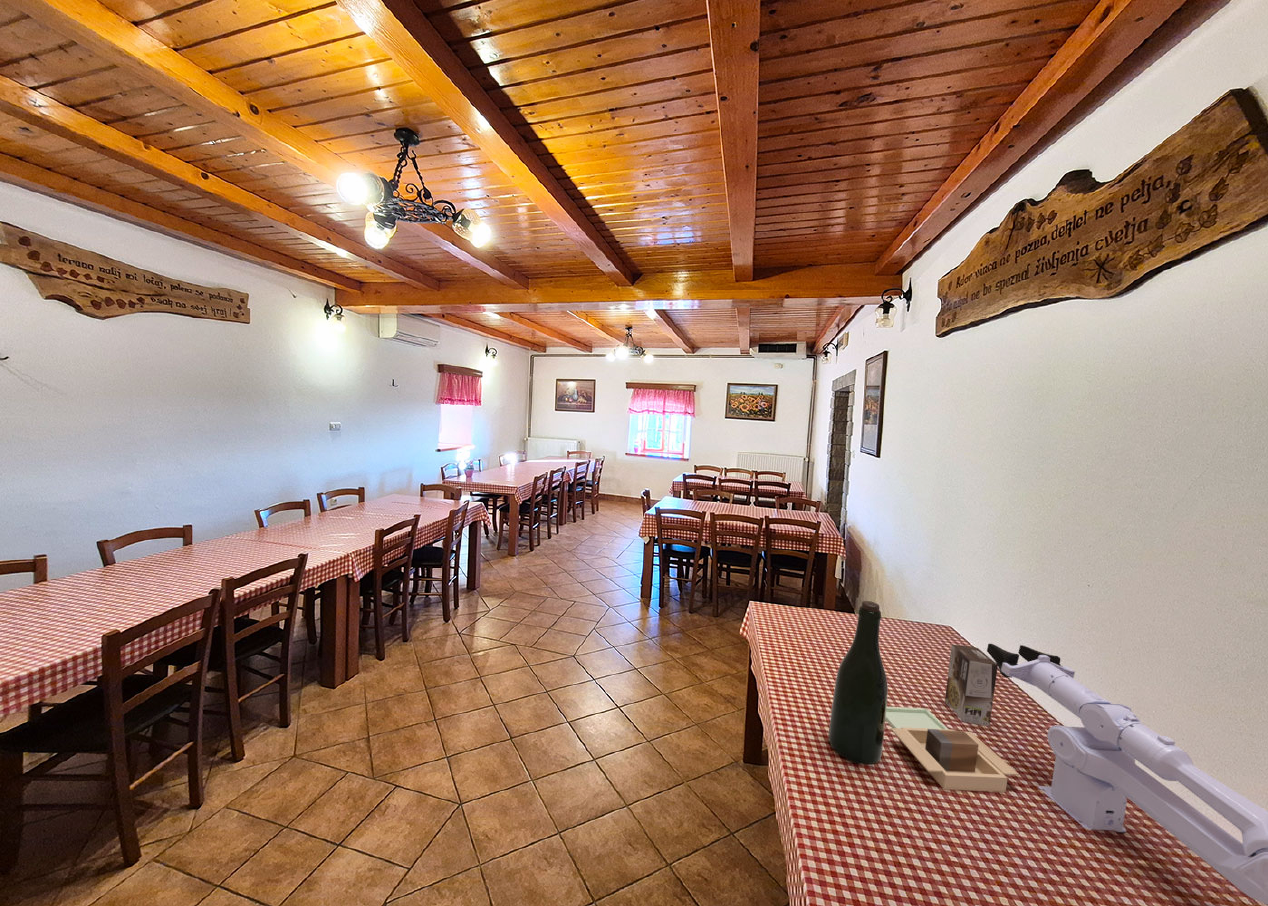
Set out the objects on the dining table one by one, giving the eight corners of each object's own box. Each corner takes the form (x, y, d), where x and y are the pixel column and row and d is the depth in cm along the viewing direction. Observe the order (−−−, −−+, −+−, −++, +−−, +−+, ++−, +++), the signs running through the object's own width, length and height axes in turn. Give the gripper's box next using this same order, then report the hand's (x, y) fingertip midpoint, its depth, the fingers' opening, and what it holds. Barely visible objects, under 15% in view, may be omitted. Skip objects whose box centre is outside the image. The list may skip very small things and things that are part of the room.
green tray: (955, 742, 102) (956, 736, 102) (901, 740, 101) (901, 734, 101) (925, 713, 112) (926, 708, 112) (875, 711, 111) (876, 706, 111)
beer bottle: (851, 770, 91) (869, 614, 89) (817, 735, 101) (833, 594, 99) (892, 763, 94) (911, 612, 91) (855, 729, 104) (871, 592, 101)
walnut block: (975, 772, 92) (978, 744, 92) (937, 770, 92) (941, 742, 91) (959, 757, 96) (963, 730, 96) (924, 755, 96) (927, 729, 96)
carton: (1019, 795, 88) (1022, 777, 88) (929, 791, 87) (931, 773, 87) (965, 745, 101) (967, 729, 101) (886, 741, 101) (888, 725, 100)
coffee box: (990, 729, 108) (999, 665, 107) (961, 723, 109) (969, 660, 108) (970, 706, 117) (978, 647, 116) (943, 701, 118) (950, 642, 117)
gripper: (1100, 672, 90) (1038, 634, 103) (1032, 668, 89) (978, 630, 102) (1092, 703, 91) (1031, 661, 104) (1024, 700, 90) (972, 658, 104)
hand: (1004, 648), depth 103 cm, fingers open, 7 cm apart
